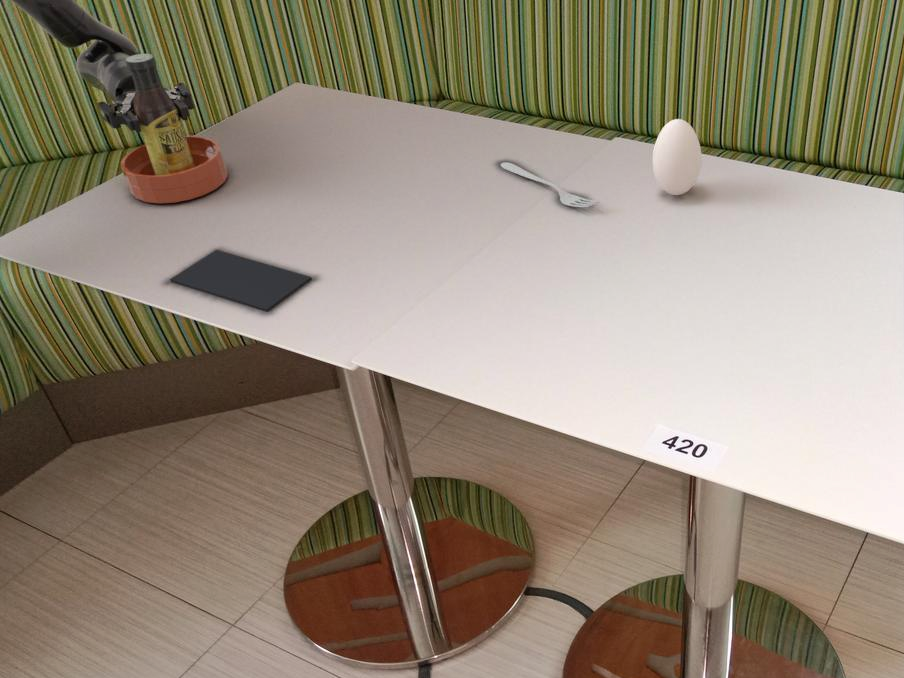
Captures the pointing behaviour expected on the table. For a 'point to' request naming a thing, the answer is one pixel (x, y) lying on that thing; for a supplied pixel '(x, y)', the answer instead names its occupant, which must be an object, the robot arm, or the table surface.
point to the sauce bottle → (158, 119)
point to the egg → (676, 157)
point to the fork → (564, 196)
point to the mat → (241, 280)
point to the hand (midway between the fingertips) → (160, 119)
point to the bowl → (179, 184)
